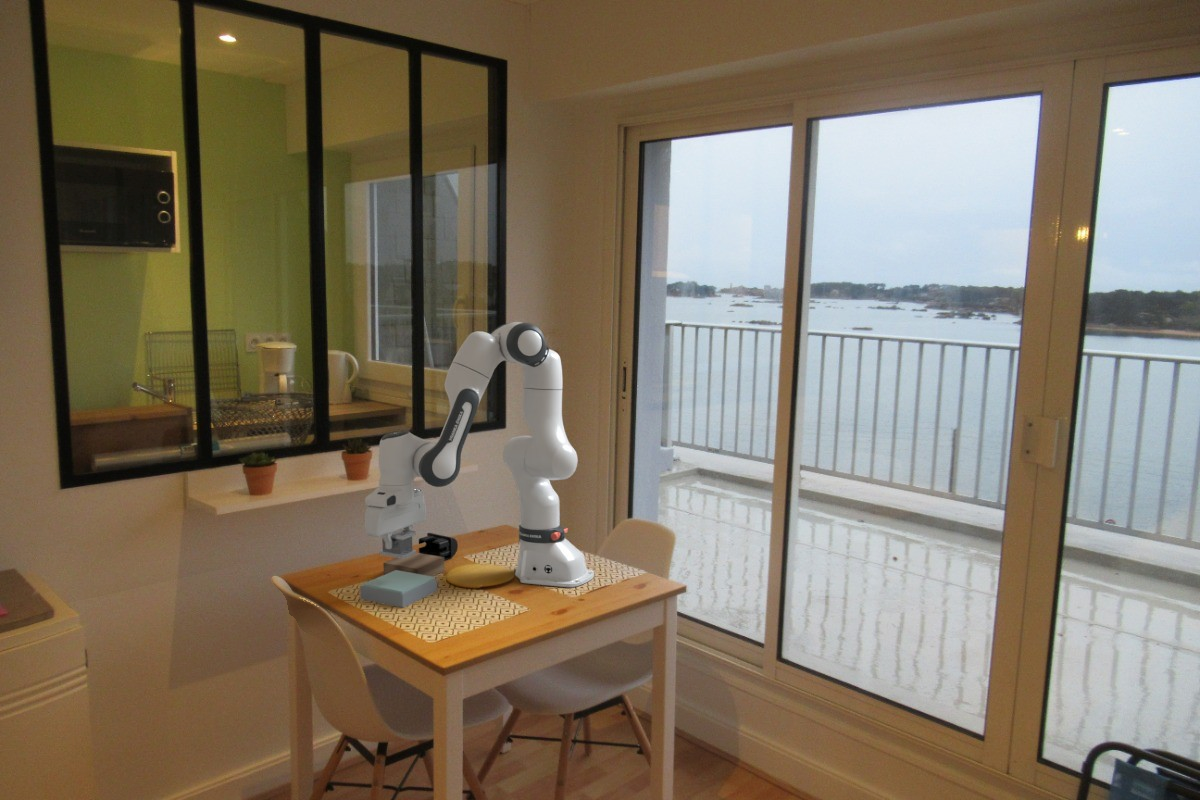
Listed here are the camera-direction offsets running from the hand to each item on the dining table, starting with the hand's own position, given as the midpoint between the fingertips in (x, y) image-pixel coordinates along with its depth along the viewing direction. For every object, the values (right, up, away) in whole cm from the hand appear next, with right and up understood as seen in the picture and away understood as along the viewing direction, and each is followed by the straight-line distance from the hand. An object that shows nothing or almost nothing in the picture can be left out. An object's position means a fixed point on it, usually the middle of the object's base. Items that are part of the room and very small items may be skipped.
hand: (397, 545), depth 221 cm
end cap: (+4, -10, +35) cm, 37 cm away
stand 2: (0, -13, +2) cm, 13 cm away
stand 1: (0, -11, +19) cm, 22 cm away
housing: (0, -2, 0) cm, 2 cm away
